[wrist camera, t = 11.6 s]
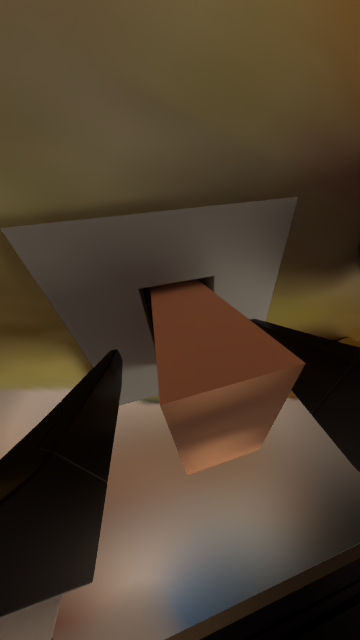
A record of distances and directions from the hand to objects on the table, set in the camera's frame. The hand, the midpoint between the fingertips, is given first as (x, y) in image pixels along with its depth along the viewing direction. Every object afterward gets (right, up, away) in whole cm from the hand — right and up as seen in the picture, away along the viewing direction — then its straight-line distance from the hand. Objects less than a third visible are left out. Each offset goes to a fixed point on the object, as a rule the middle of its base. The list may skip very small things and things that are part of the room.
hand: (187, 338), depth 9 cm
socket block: (-1, +2, +3) cm, 4 cm away
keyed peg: (-1, +2, +3) cm, 4 cm away
